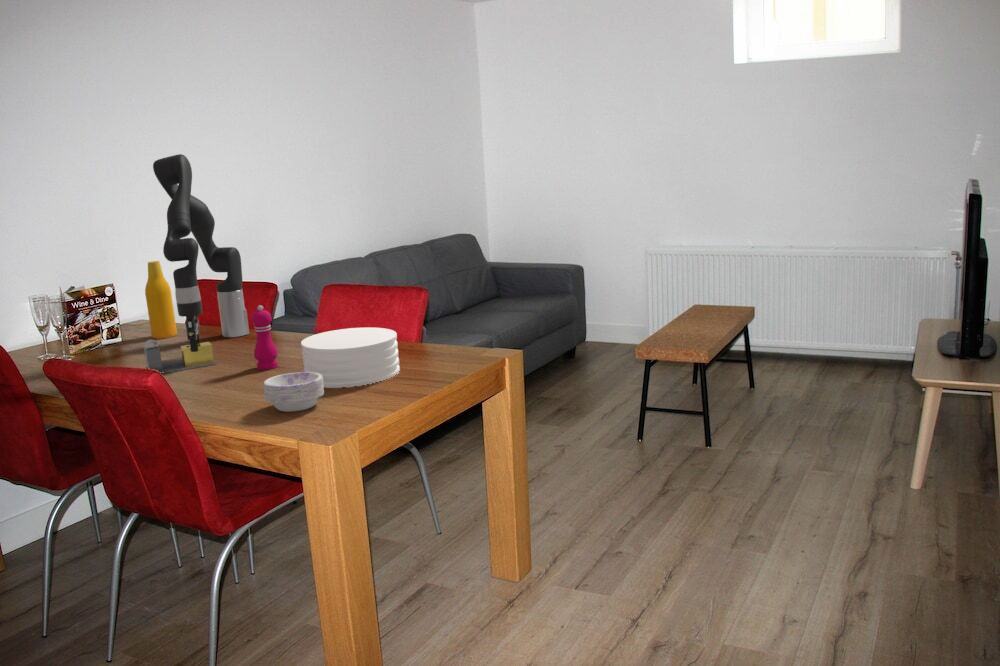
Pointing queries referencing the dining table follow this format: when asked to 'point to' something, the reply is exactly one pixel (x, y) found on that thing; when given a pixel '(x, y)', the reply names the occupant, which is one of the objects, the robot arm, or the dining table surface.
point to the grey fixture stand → (167, 365)
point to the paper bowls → (294, 390)
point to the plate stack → (352, 356)
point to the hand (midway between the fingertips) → (195, 348)
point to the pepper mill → (264, 340)
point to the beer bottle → (159, 303)
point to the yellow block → (197, 354)
